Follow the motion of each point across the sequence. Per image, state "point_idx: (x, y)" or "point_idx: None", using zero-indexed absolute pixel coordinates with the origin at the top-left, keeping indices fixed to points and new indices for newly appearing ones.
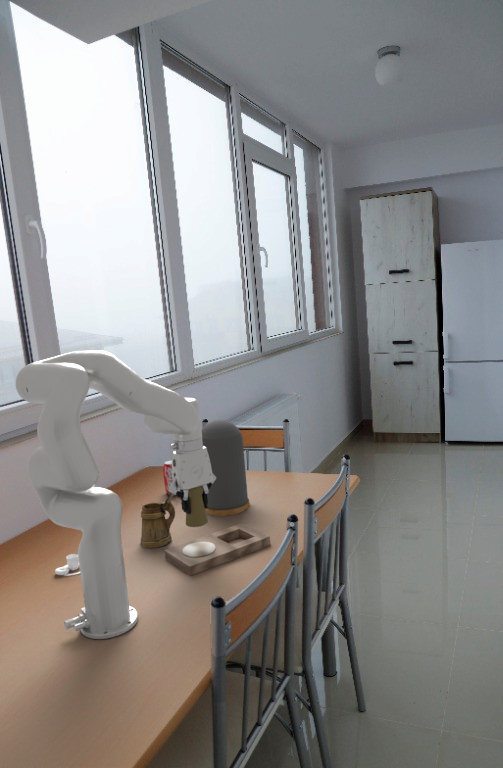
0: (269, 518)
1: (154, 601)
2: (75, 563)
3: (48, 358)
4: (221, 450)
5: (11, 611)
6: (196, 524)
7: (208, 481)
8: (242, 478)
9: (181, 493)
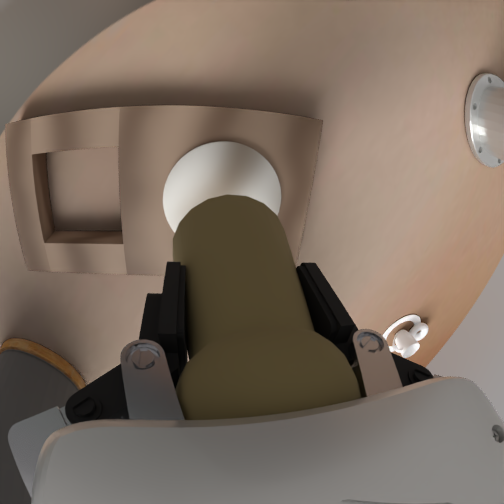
0: None
1: (429, 101)
2: (409, 336)
3: None
4: (7, 491)
5: (493, 268)
6: (268, 210)
7: (115, 444)
8: None
9: (403, 380)
